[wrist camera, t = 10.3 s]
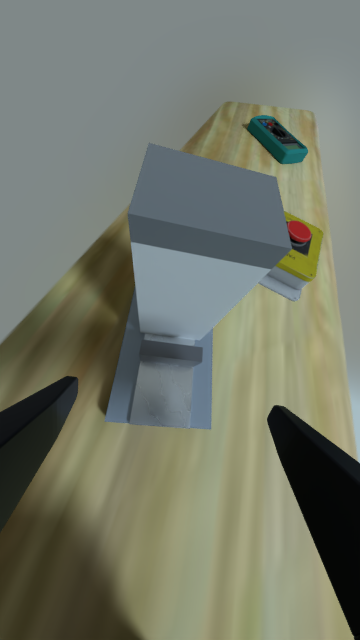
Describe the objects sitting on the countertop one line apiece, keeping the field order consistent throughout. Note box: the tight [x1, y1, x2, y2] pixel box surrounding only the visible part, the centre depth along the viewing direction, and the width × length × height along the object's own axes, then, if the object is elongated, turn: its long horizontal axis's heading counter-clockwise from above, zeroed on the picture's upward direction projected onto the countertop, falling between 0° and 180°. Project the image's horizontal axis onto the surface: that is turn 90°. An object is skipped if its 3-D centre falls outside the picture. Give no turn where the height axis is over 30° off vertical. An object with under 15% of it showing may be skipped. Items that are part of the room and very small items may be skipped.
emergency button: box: [258, 211, 323, 301], centre depth 26 cm, size 9×4×15 cm
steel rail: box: [129, 333, 195, 429], centre depth 18 cm, size 15×5×1 cm, turn 175°
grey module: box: [128, 143, 292, 340], centre depth 13 cm, size 5×6×12 cm
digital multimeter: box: [247, 115, 308, 164], centre depth 41 cm, size 7×15×3 cm, turn 26°
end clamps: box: [139, 339, 203, 367], centre depth 17 cm, size 10×5×3 cm, turn 175°
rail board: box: [105, 286, 213, 429], centre depth 18 cm, size 15×9×2 cm, turn 175°
